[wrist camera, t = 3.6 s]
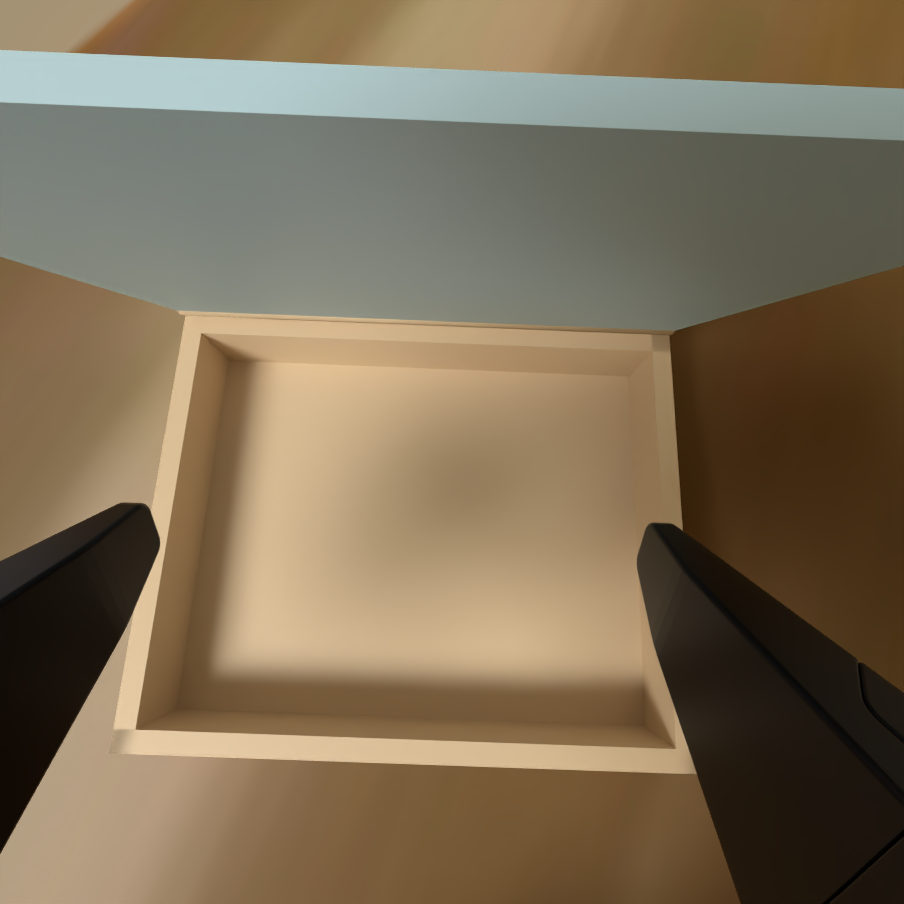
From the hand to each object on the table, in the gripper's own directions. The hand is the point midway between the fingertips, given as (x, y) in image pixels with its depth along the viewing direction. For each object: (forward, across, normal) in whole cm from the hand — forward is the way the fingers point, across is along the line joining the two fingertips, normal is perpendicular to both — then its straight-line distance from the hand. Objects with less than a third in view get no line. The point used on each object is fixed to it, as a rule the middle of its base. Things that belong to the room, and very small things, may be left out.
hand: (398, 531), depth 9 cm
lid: (+3, 0, -4) cm, 5 cm away
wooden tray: (+6, 0, +6) cm, 9 cm away
